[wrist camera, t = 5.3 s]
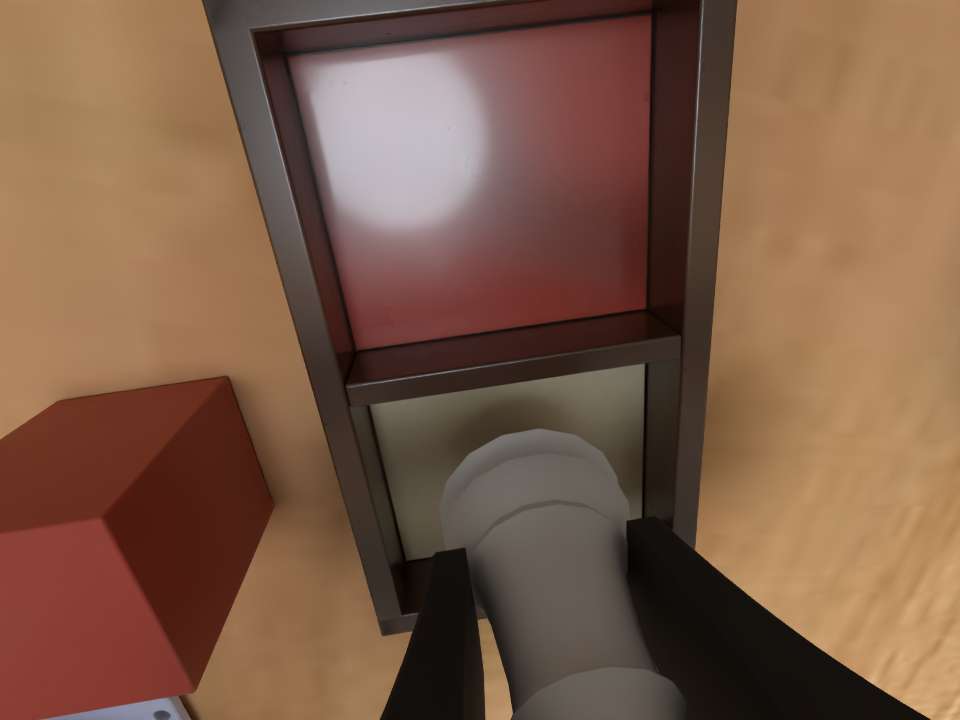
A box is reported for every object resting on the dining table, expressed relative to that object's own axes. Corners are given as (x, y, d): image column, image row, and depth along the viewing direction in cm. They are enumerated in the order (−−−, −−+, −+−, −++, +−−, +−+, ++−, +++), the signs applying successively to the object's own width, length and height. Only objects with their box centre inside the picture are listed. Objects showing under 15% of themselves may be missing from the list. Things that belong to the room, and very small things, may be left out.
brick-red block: (275, 508, 15) (196, 694, 10) (124, 531, 14) (-38, 735, 9) (228, 375, 13) (101, 518, 8) (56, 400, 13) (-188, 563, 8)
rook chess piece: (626, 417, 12) (953, 850, 4) (599, 559, 14) (804, 1040, 6) (440, 418, 11) (466, 906, 4) (436, 565, 13) (450, 1098, 6)
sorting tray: (656, 523, 16) (693, 583, 14) (388, 567, 16) (381, 637, 14) (674, -24, 10) (744, -74, 8) (248, 24, 10) (196, -14, 8)
